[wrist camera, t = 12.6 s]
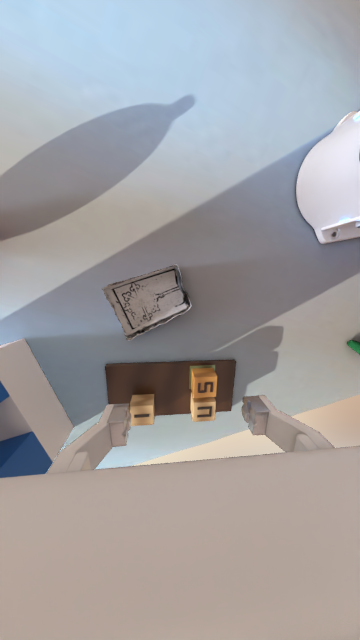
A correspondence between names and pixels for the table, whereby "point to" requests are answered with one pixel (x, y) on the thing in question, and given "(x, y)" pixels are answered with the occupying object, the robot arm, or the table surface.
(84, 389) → the table surface
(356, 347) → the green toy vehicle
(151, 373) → the letter board
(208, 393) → the letter s tile
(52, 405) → the toy block
